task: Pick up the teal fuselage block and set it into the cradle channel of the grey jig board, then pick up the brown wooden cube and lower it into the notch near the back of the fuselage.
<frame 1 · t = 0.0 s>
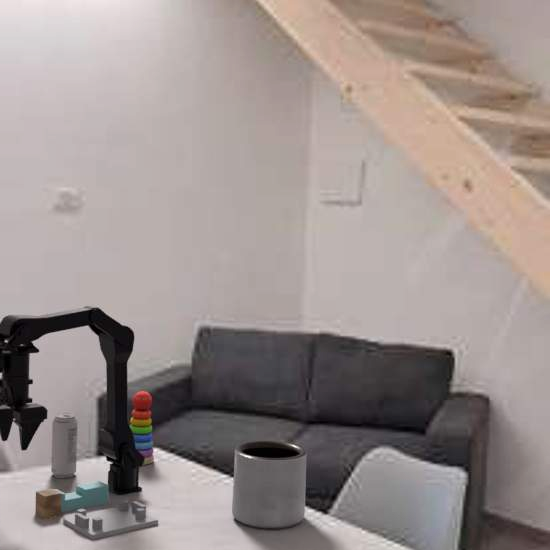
hand: (14, 445, 207), 15 cm above the table, tool pointing down, fingers open, 9 cm apart
stacking toy: (138, 462, 251), on the table
jig: (110, 523, 203), on the table
energy drink can: (63, 475, 236), on the table
fuselage: (80, 504, 214), on the table
planter: (268, 519, 210), on the table
brown wooden cube: (48, 514, 207), on the table
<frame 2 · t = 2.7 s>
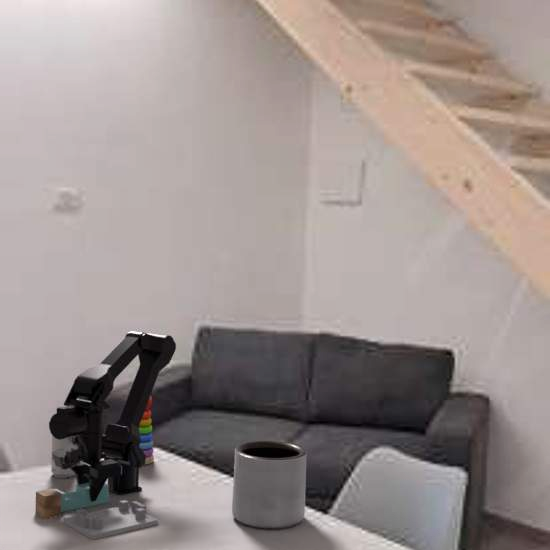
hand: (88, 498, 215), 1 cm above the table, tool pointing down, fingers closed on fuselage, 4 cm apart
fuselage: (80, 504, 214), on the table, touching gripper
everything else where it was.
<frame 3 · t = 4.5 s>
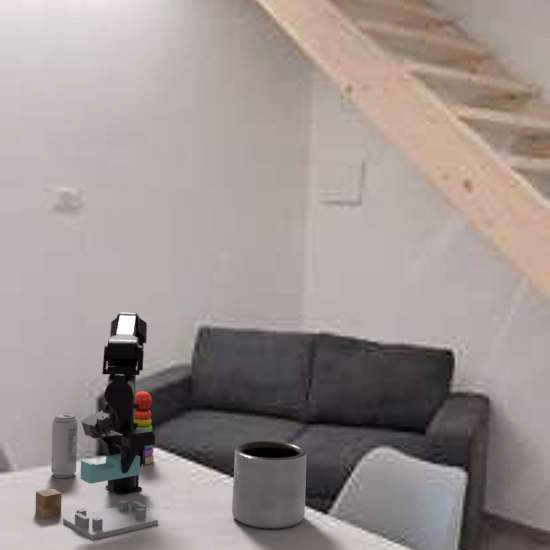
hand: (119, 470, 203), 11 cm above the table, tool pointing down, fingers closed on fuselage, 4 cm apart
fuselage: (110, 476, 202), point 10 cm above the table, touching gripper
everything else where it was.
when the fingers open (3 cm above the table, at t = 6.2 s): fuselage drops 1 cm, resting on jig.
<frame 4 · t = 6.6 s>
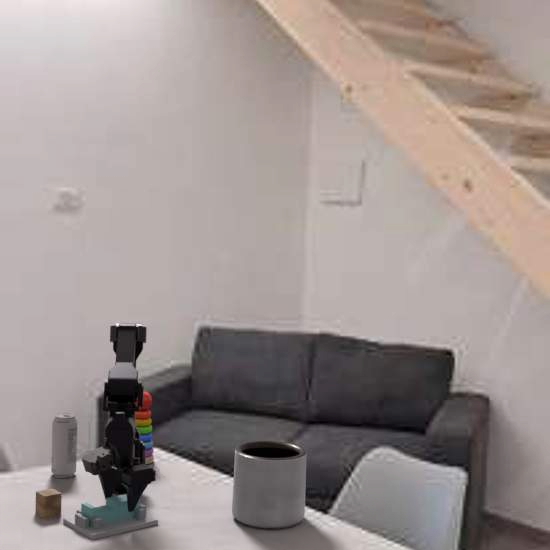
hand: (119, 505, 204), 3 cm above the table, tool pointing down, fingers open, 9 cm apart
fuselage: (110, 518, 203), point 1 cm above the table, touching jig
everything else where it was.
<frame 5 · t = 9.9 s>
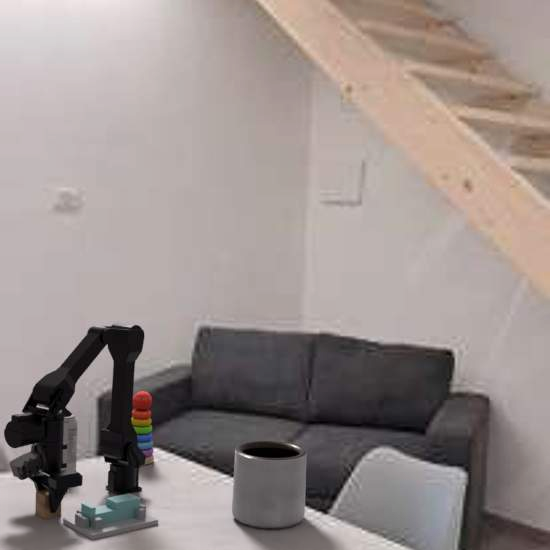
hand: (48, 509, 207), 1 cm above the table, tool pointing down, fingers closed on brown wooden cube, 4 cm apart
brown wooden cube: (48, 514, 207), on the table, touching gripper
everything else where it was.
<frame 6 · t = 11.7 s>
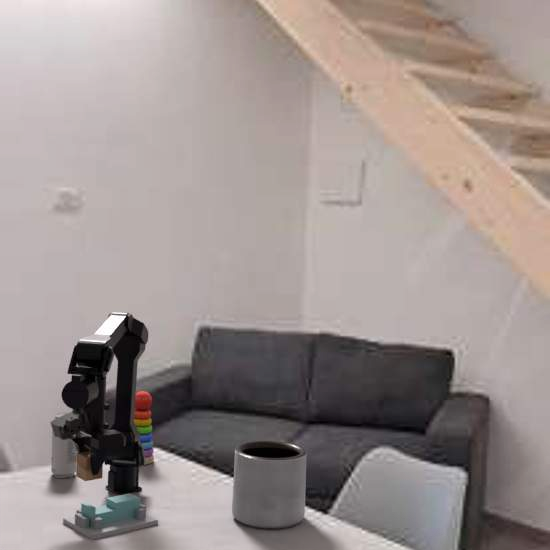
hand: (89, 472, 201), 11 cm above the table, tool pointing down, fingers closed on brown wooden cube, 4 cm apart
brown wooden cube: (89, 477, 201), point 10 cm above the table, touching gripper
everything else where it was.
when the fingers open (5 cm above the table, at t = 13.7 s): brown wooden cube stays where it is, resting on fuselage.
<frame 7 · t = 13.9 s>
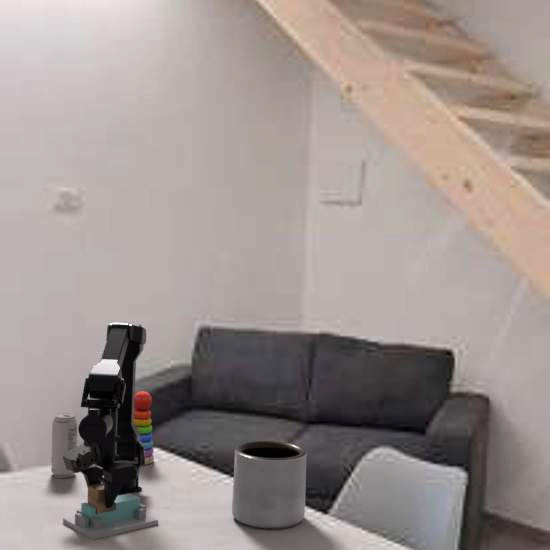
hand: (101, 504, 201), 5 cm above the table, tool pointing down, fingers open, 6 cm apart
fuselage: (110, 518, 203), point 1 cm above the table, touching jig, brown wooden cube
brown wooden cube: (100, 509, 201), point 3 cm above the table, touching fuselage
everything else where it was.
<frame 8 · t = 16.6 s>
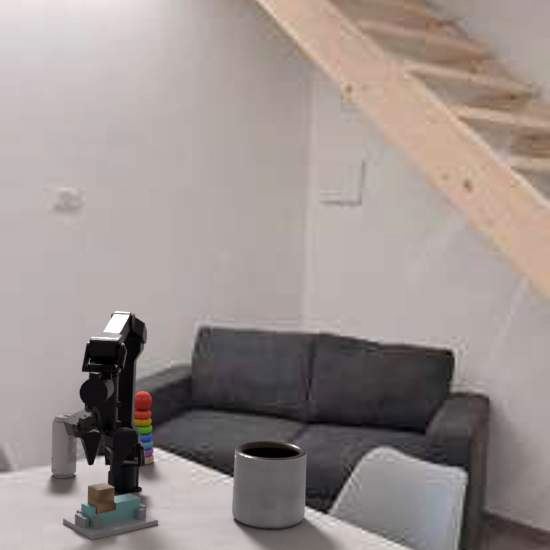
hand: (102, 470, 200), 12 cm above the table, tool pointing down, fingers open, 9 cm apart
nothing on the table moved.
at the end: fuselage 0.1 cm off-centre on the jig, point 1.0 cm above the jig's base; brown wooden cube 0.0 cm from the target spot on the fuselage, point 2.5 cm above the fuselage's base; the gripper is holding nothing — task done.
